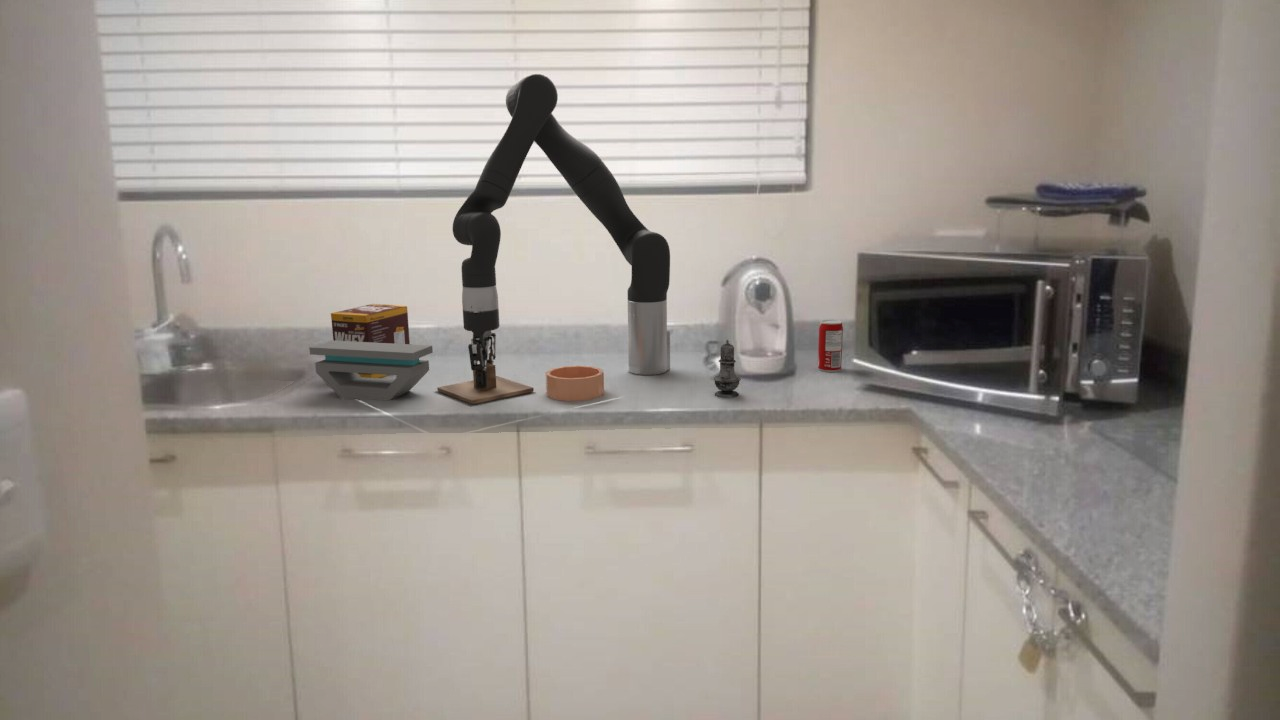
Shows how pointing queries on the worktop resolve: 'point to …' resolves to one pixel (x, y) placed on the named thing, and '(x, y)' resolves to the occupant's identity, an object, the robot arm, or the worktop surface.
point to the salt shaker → (727, 373)
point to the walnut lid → (494, 389)
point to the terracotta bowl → (574, 383)
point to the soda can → (830, 345)
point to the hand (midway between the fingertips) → (484, 384)
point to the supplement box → (372, 326)
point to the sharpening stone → (370, 368)
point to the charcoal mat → (481, 402)
